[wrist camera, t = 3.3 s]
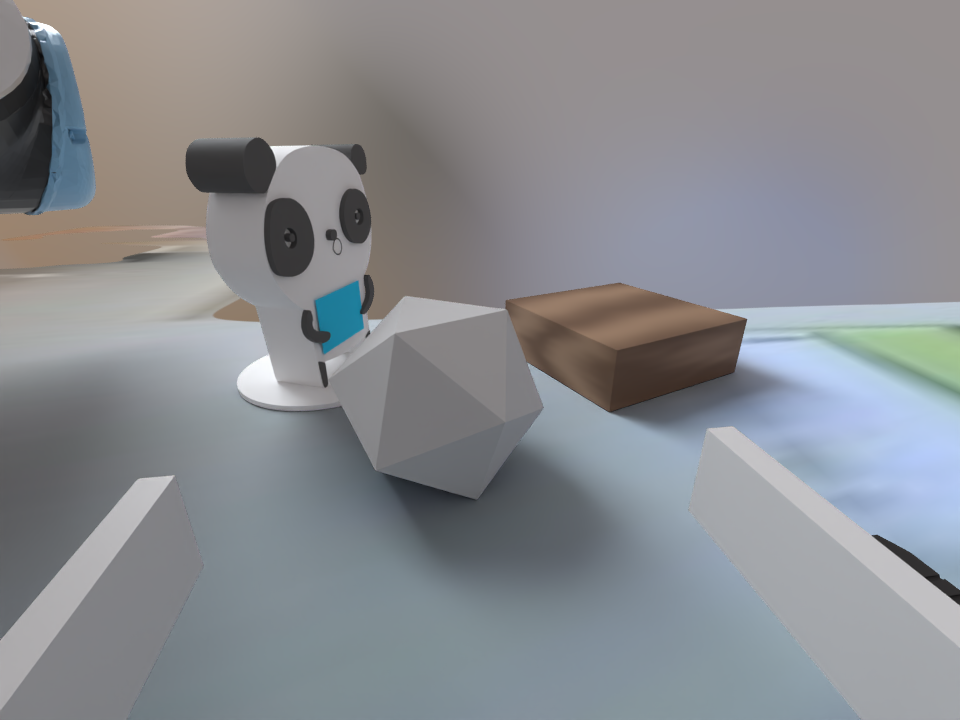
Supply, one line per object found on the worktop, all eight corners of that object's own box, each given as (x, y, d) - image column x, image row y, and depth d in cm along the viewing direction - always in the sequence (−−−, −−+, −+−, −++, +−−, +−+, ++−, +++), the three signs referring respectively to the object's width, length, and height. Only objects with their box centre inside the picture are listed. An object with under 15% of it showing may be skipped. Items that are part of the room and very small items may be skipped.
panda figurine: (347, 428, 26) (308, 132, 20) (188, 401, 29) (113, 137, 23) (428, 352, 36) (418, 144, 30) (306, 338, 39) (275, 146, 33)
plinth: (504, 347, 37) (505, 300, 36) (614, 325, 42) (619, 282, 41) (609, 411, 27) (616, 350, 26) (734, 372, 33) (747, 318, 31)
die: (561, 457, 24) (496, 287, 26) (577, 483, 16) (475, 224, 17) (415, 510, 25) (359, 342, 26) (349, 564, 16) (270, 307, 18)
